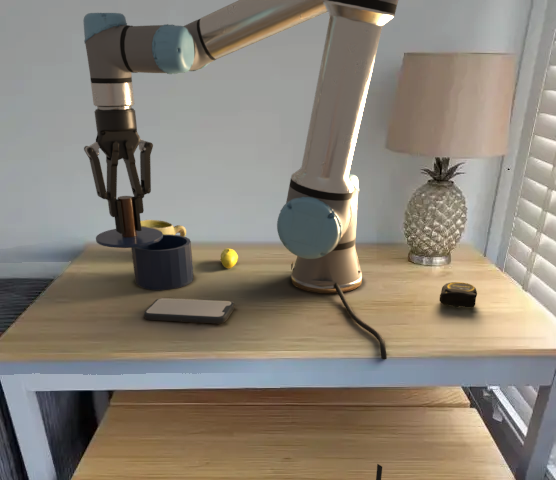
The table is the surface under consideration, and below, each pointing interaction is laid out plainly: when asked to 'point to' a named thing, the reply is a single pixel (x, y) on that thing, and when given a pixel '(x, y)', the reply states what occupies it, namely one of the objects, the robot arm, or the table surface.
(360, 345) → the table surface
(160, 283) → the tin
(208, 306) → the phone case
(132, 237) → the lid
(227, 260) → the lemon
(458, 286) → the tape measure
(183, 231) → the mug
